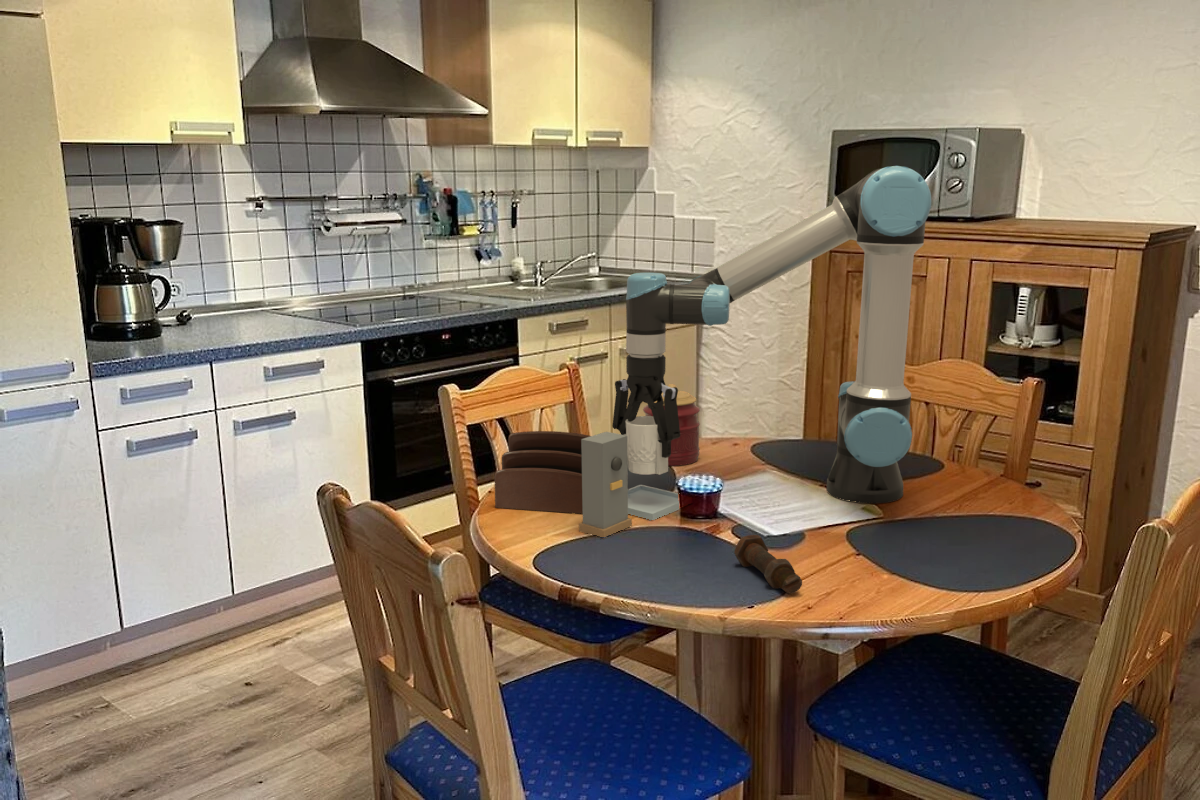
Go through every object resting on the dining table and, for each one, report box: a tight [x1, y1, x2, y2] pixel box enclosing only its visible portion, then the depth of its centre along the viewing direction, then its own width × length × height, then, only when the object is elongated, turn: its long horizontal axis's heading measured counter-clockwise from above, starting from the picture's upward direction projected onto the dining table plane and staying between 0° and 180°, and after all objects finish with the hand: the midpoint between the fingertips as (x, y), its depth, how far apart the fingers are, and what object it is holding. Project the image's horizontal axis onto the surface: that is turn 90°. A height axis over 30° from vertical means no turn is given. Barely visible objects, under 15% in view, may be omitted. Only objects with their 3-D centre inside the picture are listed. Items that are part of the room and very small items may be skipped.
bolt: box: [733, 534, 803, 594], centre depth 160 cm, size 6×5×15 cm
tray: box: [628, 484, 680, 521], centre depth 197 cm, size 13×13×1 cm
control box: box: [578, 431, 633, 538], centre depth 183 cm, size 6×8×18 cm
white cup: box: [626, 415, 660, 476], centre depth 195 cm, size 8×8×10 cm
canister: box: [642, 383, 701, 467], centre depth 228 cm, size 13×13×18 cm
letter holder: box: [494, 430, 591, 515], centre depth 198 cm, size 10×20×14 cm, turn 76°
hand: (645, 468), depth 196 cm, fingers closed on white cup, 7 cm apart
